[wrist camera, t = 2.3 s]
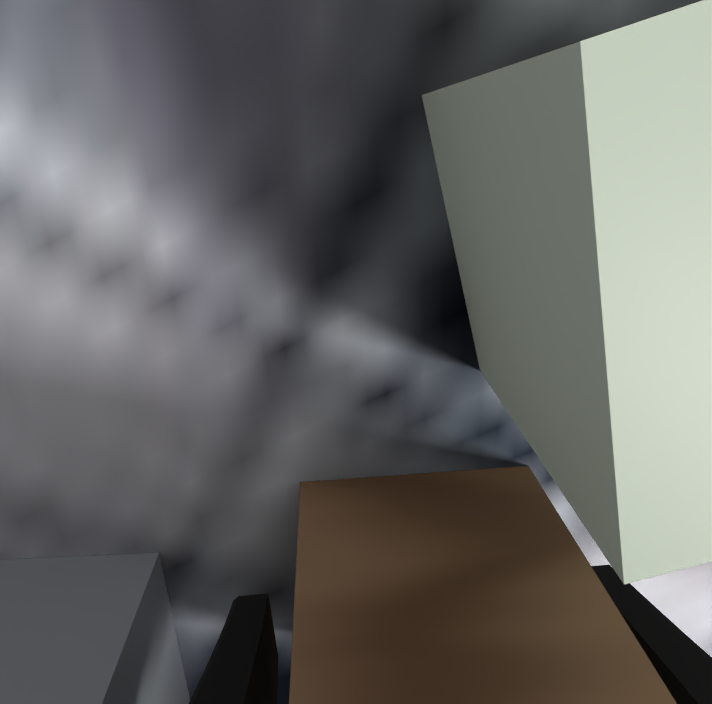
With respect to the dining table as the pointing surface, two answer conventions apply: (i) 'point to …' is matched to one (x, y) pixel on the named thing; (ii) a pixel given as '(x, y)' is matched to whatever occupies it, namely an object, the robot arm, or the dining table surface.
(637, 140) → the sage cube
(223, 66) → the dining table surface
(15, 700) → the pedestal block
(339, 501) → the walnut cube
